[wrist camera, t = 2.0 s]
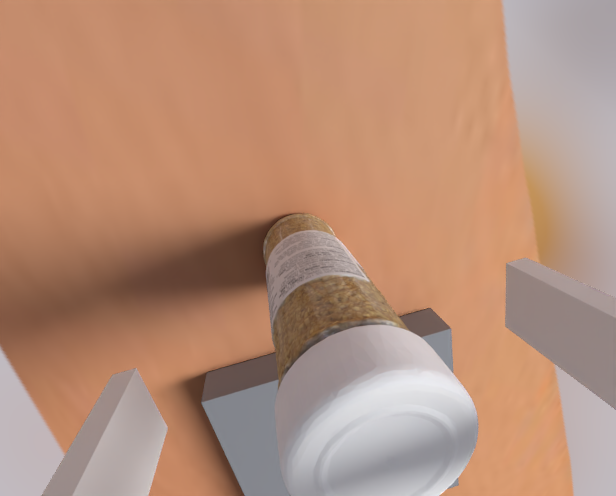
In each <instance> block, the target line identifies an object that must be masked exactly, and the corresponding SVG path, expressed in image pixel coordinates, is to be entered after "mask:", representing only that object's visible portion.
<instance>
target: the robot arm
mask: <svg viewBox="0 0 616 496" xmlns="http://www.w3.org/2000/svg"><path fill="white" fill-rule="evenodd" d="M505 327H507V328H508V329H509V330H511V331H512V332H513V333H515V334H516V335H517V336H519V337H520V338H521V339H523V340H524V341H525V342H527V343H528V344H529V345H531V346H532V347H533V348H535V349H536V350H537V351H539V352H540V353H541V354H542V355H544V356H545V357H546V358H548V359H549V360H550V361H552V362H553V363H554V364H556V365H557V366H558V367H560V368H561V369H562V370H564V371H565V372H566V373H568V374H569V375H570V376H572V377H573V378H574V379H576V380H577V381H578V382H580V383H581V384H582V385H584V386H585V387H586V388H588V389H589V390H590V391H592V392H593V393H594V394H596V395H597V396H598V397H600V398H601V399H602V400H603V401H605V402H606V403H608V404H609V405H610V406H612V407H613V408H614V409H615V410H616V298H615V297H613V296H611V295H609V294H606V293H604V292H602V291H600V290H597V289H595V288H593V287H591V286H588V285H586V284H584V283H582V282H579V281H577V280H575V279H572V278H570V277H568V276H566V275H564V274H561V273H559V272H557V271H555V270H552V269H550V268H548V267H545V266H543V265H541V264H539V263H537V262H535V261H532V260H530V259H528V258H523V259H519V260H516V261H512V262H509V263H506V316H505ZM167 429H168V427H167V425H166V423H165V422H164V420H163V418H162V416H161V414H160V412H159V410H158V408H157V406H156V404H155V403H154V401H153V399H152V397H151V395H150V393H149V391H148V389H147V387H146V386H145V384H144V382H143V380H142V378H141V376H140V374H139V372H138V370H137V368H135V369H131V370H128V371H124V372H121V373H117V374H114V375H112V376H111V378H110V380H109V382H108V383H107V385H106V387H105V388H104V390H103V392H102V393H101V395H100V397H99V399H98V400H97V402H96V404H95V405H94V407H93V409H92V410H91V412H90V414H89V416H88V417H87V419H86V421H85V422H84V424H83V426H82V428H81V429H80V431H79V433H78V434H77V436H76V438H75V439H74V441H73V443H72V445H71V446H70V448H69V450H68V451H67V453H66V455H65V456H64V458H63V460H62V462H61V463H60V465H59V467H58V469H57V470H56V472H55V474H54V475H53V477H52V479H51V480H50V482H49V484H48V485H47V487H46V489H45V491H44V492H43V494H42V496H148V495H149V491H150V488H151V484H152V481H153V477H154V474H155V471H156V467H157V464H158V460H159V457H160V453H161V450H162V446H163V443H164V440H165V436H166V433H167Z"/></svg>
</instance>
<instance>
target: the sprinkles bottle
mask: <svg viewBox="0 0 616 496" xmlns="http://www.w3.org/2000/svg"><path fill="white" fill-rule="evenodd" d="M263 256H264V261H265V265H266V266H267V267H266V282H267V292H268V302H269V311H270V322H271V333H272V340H273V344H274V347H275V351H276V361H277V370H278V377H279V382H278V392H277V396H276V401H275V421H276V432H277V442H278V450H279V458H280V466H281V473H282V477H283V481H284V483H285V486H286V488H287V490H288V492H289V494H290V496H439V495H440V494H441V493H443V492H444V491H445V490H446V489H447V488H448V487H449V486H451V485H452V484H453V483H454V481H455V480H456V479H457V478H458V477H459V476H460V474H461V473H462V472H463V470H464V469H465V467H466V465H467V464H468V462H469V460H470V458H471V456H472V453H473V451H474V449H475V446H476V442H477V436H478V418H477V412H476V408H475V406H474V403H473V401H472V399H471V397H470V396H469V394H468V392H467V391H466V389H465V388H464V387H463V385H462V384H461V383H460V382H459V380H458V379H457V378H456V377H455V375H454V374H453V373H452V372H451V370H450V369H449V368H448V367H447V365H446V364H445V363H444V362H443V361H442V359H441V358H440V357H439V356H438V355H437V353H436V352H435V351H434V350H433V349H432V347H431V346H430V345H429V344H428V343H427V342H426V341H425V340H424V339H422V338H421V337H419V336H418V335H416V334H414V333H412V332H410V331H409V330H408V328H407V327H406V326H405V324H404V323H403V321H402V320H401V319H400V318H399V317H398V316H397V314H396V313H395V312H394V310H393V309H392V308H391V306H389V304H388V303H387V301H386V299H385V298H384V296H383V295H382V294H381V293H380V291H379V290H378V289H377V288H376V287H375V286H374V284H373V283H372V281H371V280H370V279H369V277H368V276H367V275H366V273H365V271H364V269H363V268H362V267H361V265H360V264H359V263H358V262H357V260H356V259H355V258H354V257H353V255H352V254H351V253H350V252H349V250H348V249H347V248H346V247H345V246H344V244H343V243H342V242H341V241H340V240H339V239H337V238H336V236H335V233H334V231H333V230H332V228H331V227H330V226H329V225H328V224H327V223H326V222H325V221H323V220H322V219H320V218H318V217H316V216H313V215H311V214H293V215H289V216H286V217H284V218H282V219H280V220H279V221H278V222H277V223H275V224H274V225H273V226H272V227H271V229H270V230H269V231H268V233H267V235H266V237H265V240H264V243H263Z"/></svg>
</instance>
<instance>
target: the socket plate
mask: <svg viewBox="0 0 616 496" xmlns="http://www.w3.org/2000/svg"><path fill="white" fill-rule="evenodd" d="M399 318H400V319H401V320H402V321H403V323H404V324H405V326H406V327H407V328H408V330H409V331H410V332H412V333H414V334H416V335H418V336H419V337H421V338H422V339H424V340H425V341H426V342H427V343H428V344H429V345H430V346H431V347H432V349H433V350H434V351H435V352H436V353H437V355H438V356H439V357H440V358H441V359H442V361H443V362H444V363H445V364H446V365H447V367H448V368H449V369H450V370H451V372H452V373H453V357H452V336H451V328H450V327H449V326H448V325H447V324H446V323H445V322H444V321H443V320H442V319H441V318H440V317H439V316H438V315H437V314H436V313H435V312H434V311H433V310H432V309H431V308H428V309H425V310H422V311H418V312H415V313H411V314H408V315H404V316H401V317H399ZM278 382H279V377H278V370H277V361H276V353H273V354H269V355H266V356H263V357H259V358H256V359H252V360H249V361H245V362H242V363H238V364H235V365H231V366H228V367H224V368H221V369H218V370H214V371H211V372H207V373H206V379H205V384H204V390H203V395H202V401H201V403H202V406H203V408H204V410H205V412H206V414H207V416H208V418H209V420H210V423H211V425H212V427H213V429H214V431H215V433H216V435H217V438H218V440H219V442H220V444H221V446H222V448H223V450H224V453H225V455H226V457H227V459H228V461H229V463H230V465H231V467H232V470H233V472H234V474H235V476H236V478H237V480H238V482H239V485H240V487H241V489H242V491H243V493H244V495H245V496H290V494H289V492H288V490H287V488H286V486H285V483H284V481H283V477H282V473H281V466H280V458H279V450H278V442H277V432H276V421H275V401H276V396H277V392H278ZM457 485H459V484H458V478H457V479H456V480H455V481H454V483H453V484H452V485H451V486H449V487H448V488H447V489H449V488H452V487H454V486H457Z"/></svg>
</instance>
